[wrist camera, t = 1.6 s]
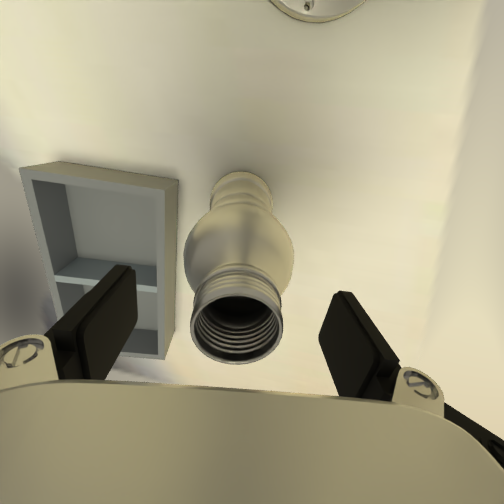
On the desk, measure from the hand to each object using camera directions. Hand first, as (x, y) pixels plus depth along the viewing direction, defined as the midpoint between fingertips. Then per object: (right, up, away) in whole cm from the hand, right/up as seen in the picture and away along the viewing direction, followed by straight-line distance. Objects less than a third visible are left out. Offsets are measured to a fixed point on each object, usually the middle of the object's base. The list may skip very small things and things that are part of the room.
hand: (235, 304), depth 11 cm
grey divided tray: (-15, +1, +19) cm, 24 cm away
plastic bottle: (0, +9, +16) cm, 18 cm away
